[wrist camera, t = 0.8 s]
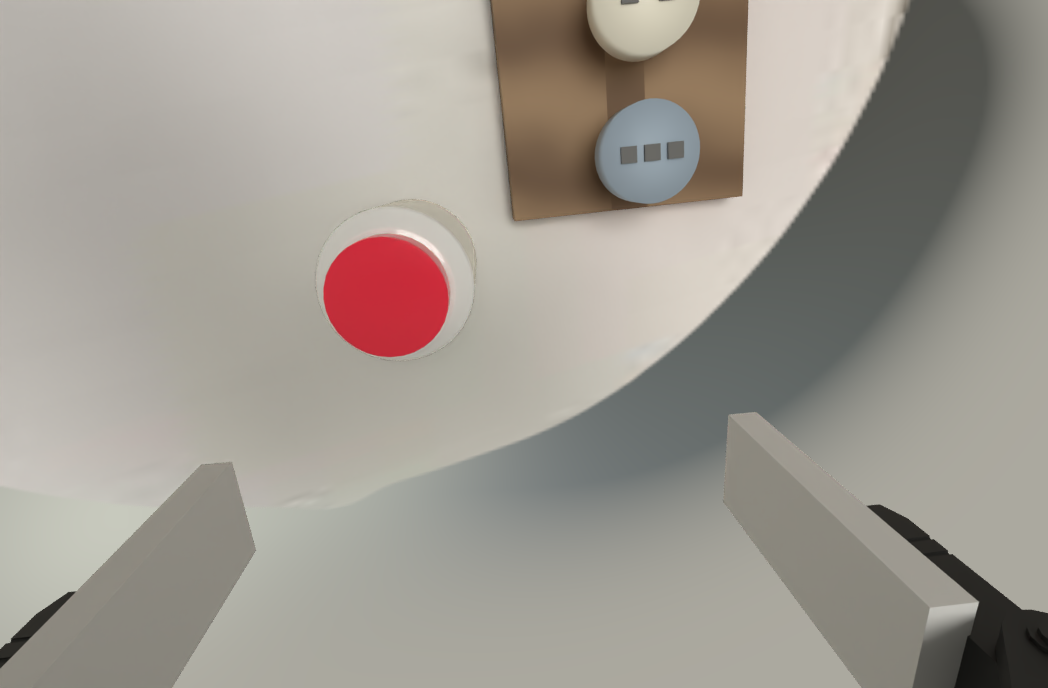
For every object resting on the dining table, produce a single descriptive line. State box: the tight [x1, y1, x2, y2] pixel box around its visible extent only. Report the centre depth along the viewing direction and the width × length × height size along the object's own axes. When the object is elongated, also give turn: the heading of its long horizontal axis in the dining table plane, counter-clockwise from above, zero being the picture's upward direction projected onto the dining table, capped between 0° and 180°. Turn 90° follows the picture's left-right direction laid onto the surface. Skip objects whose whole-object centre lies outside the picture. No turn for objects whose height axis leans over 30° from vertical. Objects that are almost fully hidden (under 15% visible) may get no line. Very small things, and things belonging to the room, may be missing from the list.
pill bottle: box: [315, 199, 477, 361], centre depth 28 cm, size 8×8×11 cm
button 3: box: [595, 98, 700, 204], centre depth 28 cm, size 5×5×4 cm
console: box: [490, 0, 748, 221], centre depth 29 cm, size 20×14×2 cm
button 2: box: [587, 0, 700, 62], centre depth 26 cm, size 5×5×4 cm
